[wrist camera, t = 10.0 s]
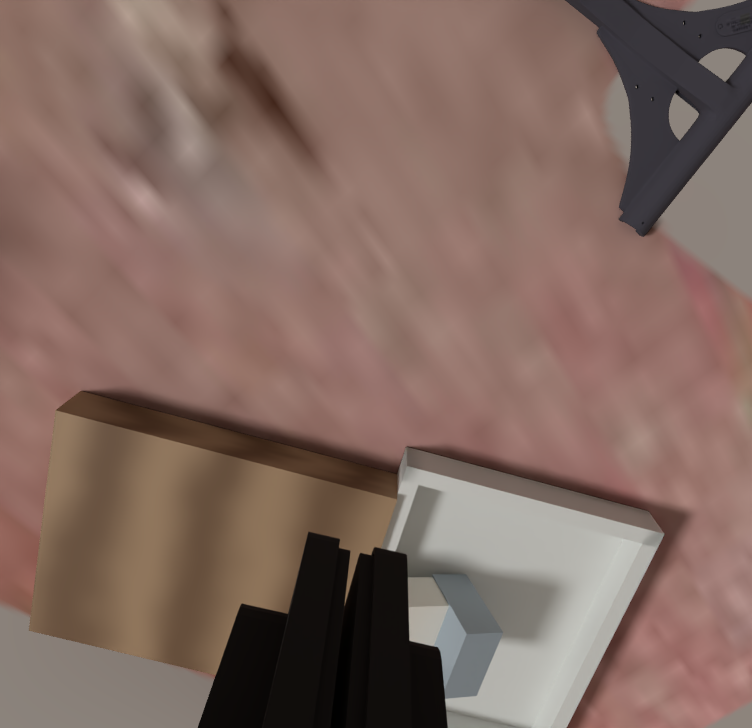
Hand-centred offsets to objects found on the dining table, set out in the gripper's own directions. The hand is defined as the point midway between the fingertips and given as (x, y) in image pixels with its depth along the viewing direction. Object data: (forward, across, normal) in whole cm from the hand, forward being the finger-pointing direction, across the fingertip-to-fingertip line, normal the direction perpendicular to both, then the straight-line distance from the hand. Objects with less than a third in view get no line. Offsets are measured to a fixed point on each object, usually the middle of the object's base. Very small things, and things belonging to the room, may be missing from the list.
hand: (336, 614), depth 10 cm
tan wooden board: (+26, +6, +19) cm, 33 cm away
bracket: (+27, -9, -16) cm, 33 cm away
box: (+27, -12, +20) cm, 35 cm away
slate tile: (+23, -9, +19) cm, 31 cm away
